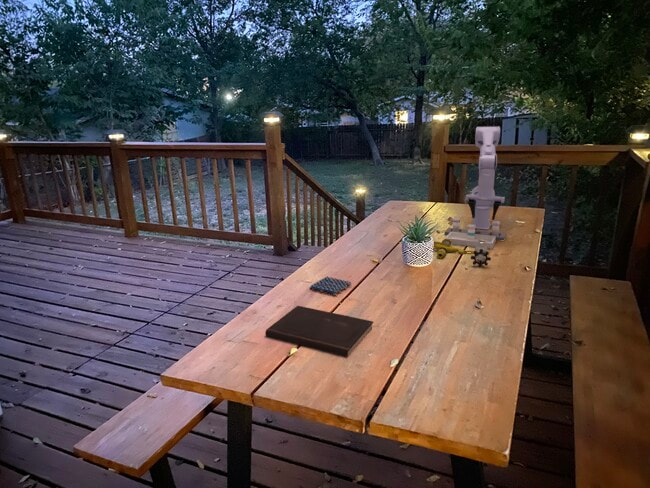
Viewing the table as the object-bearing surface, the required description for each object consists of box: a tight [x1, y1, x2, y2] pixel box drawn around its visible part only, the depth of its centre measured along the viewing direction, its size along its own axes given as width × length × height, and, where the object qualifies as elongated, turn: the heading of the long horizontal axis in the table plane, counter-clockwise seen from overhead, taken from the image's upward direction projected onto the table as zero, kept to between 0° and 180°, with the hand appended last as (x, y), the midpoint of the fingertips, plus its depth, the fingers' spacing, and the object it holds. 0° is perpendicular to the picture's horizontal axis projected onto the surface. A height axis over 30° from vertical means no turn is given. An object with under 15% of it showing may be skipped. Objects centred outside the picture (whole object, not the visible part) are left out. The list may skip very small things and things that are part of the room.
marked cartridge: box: [467, 223, 477, 241], centre depth 182 cm, size 3×3×7 cm
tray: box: [444, 232, 497, 250], centre depth 183 cm, size 10×18×2 cm, turn 63°
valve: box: [470, 240, 492, 268], centre depth 162 cm, size 7×7×12 cm
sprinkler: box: [433, 238, 475, 259], centre depth 172 cm, size 19×4×15 cm
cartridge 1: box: [452, 217, 461, 232], centre depth 195 cm, size 3×3×7 cm
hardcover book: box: [264, 305, 375, 358], centre depth 116 cm, size 16×23×2 cm
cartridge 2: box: [491, 220, 501, 236], centre depth 188 cm, size 3×3×7 cm
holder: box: [444, 227, 507, 241], centre depth 192 cm, size 7×24×2 cm, turn 63°
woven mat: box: [309, 276, 352, 297], centre depth 144 cm, size 10×11×2 cm
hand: (483, 218), depth 183 cm, fingers open, 7 cm apart
